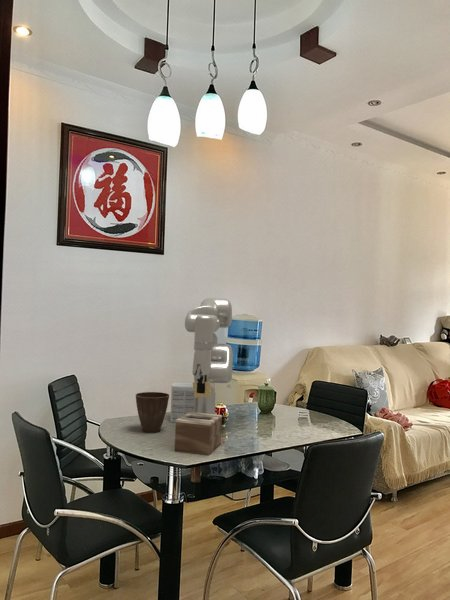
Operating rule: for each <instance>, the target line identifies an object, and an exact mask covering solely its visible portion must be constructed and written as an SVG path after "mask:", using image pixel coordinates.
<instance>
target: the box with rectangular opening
mask: <svg viewBox="0 0 450 600" xmlns="http://www.w3.org/2000/svg"><path fill="white" fill-rule="evenodd" d="M222 419H223V415H221V414H216V413H215V414H205V413H195V412H189V413H187V414H185V415H184V416H182V417H180V418H178V419H177V420H176V422H175V434H174V435H175V436H174V452H181V453H188V454H196V455H197V454H198V455H205V456H210V455H211V454H212V453H213V452H214V451H215V450H216V449H217V448H219V447H220V446H221V444H222V424H223V423H222V422H223V420H222Z"/></svg>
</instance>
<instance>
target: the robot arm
mask: <svg viewBox="0 0 450 600" xmlns="http://www.w3.org/2000/svg"><path fill="white" fill-rule="evenodd" d="M184 319H185V320H184V328H185V330H186V331H187V332H188V333H194V338H193V339H194V342H193V343H194V345H193V346H194V347H193V350H194V353H193V362H192V363H193V364H192V375H193V383H194V382H197V393H202V394H204V393H205V383H204V381H210V385H211V394H212V396H210V397H199V398H194V412H195V413H205V414H215V415H216V395H217V394H216V391H215V388H214V387H213V385H212V384H229V383H230V382H231V381H232V378H233V362H234V360H233V359H234V355H233V353H234V352H233V348H232V346H231V344H228V343H218V339H219V338H218V336H217V334H216V332H218V330H219V329H220V328H221V329H224V328H225V329H227V328H230V326H231V325H232V321H233V308H232V303H231V301H230V300H229V299H227V298H211V297H210V298H205V299H203V300H202V301H201V303H200V305H199V307H194V308H192V309H190V310H188V312H187V313H186V316H185V318H184Z"/></svg>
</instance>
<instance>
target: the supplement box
mask: <svg viewBox="0 0 450 600" xmlns="http://www.w3.org/2000/svg"><path fill="white" fill-rule="evenodd" d="M193 383H194V382H183V381H182V382H179V381H177V382H176V381H175V382H174V381H172V384H171V394H170V395H171V396H170V397H171V398H170V423H176V420H177V419H178V418H180V417H182V416H184V415H185V414H187V413H189V412H194V390H193Z"/></svg>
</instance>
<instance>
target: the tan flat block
mask: <svg viewBox="0 0 450 600" xmlns="http://www.w3.org/2000/svg"><path fill="white" fill-rule="evenodd" d="M192 383H193V390H194V398H199V397H210V396H212V394H211V386H212V384H211V383H210V381H204V383H205V393H204V394H202V393H197V382H194V381H193V382H192ZM210 384H211V385H210Z"/></svg>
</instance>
